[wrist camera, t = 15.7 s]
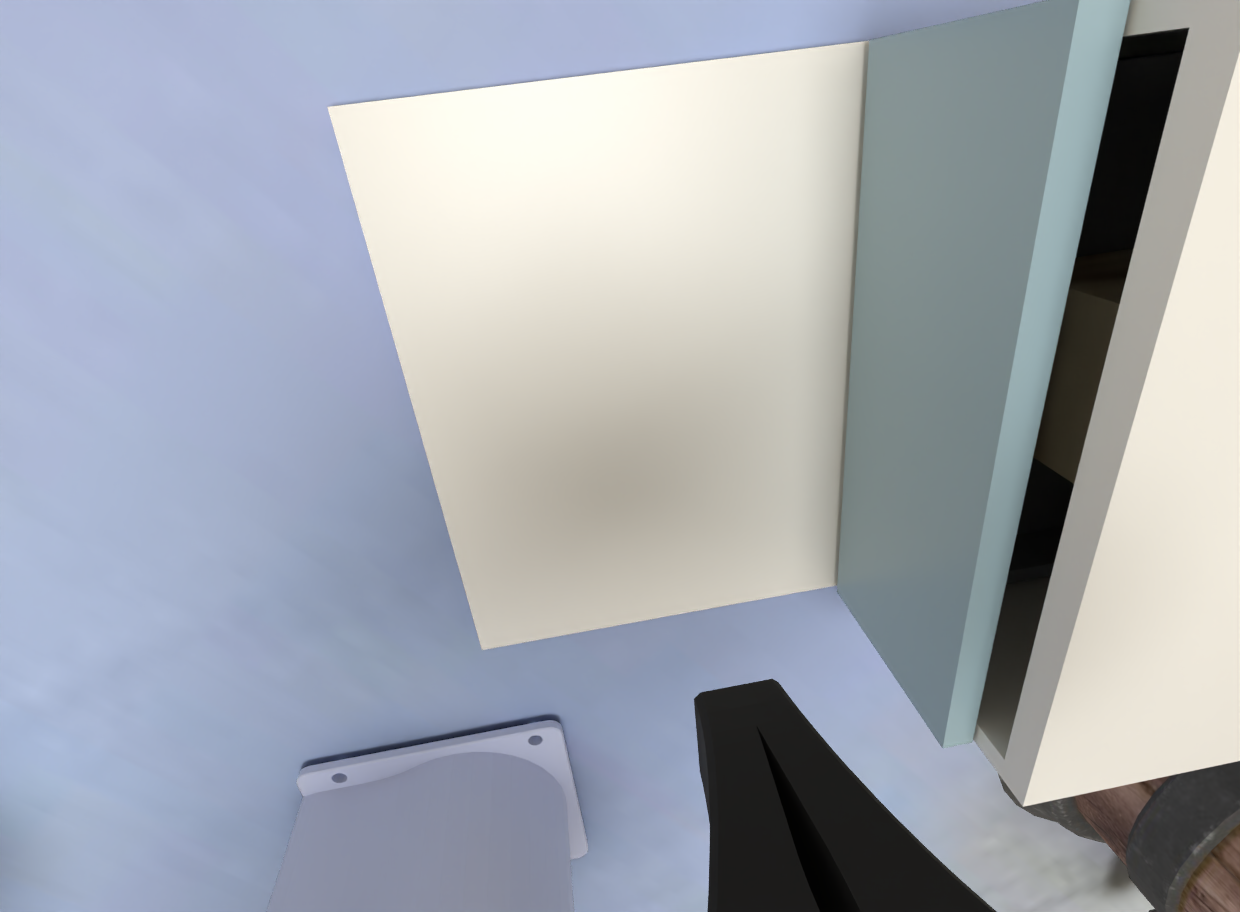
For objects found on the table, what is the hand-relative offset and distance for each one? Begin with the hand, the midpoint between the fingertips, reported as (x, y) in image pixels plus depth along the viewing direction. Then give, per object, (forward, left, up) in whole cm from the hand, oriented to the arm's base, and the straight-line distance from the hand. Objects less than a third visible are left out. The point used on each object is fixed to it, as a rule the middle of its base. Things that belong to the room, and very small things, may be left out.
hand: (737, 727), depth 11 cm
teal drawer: (+12, +2, -10) cm, 16 cm away
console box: (+6, +2, -10) cm, 12 cm away
